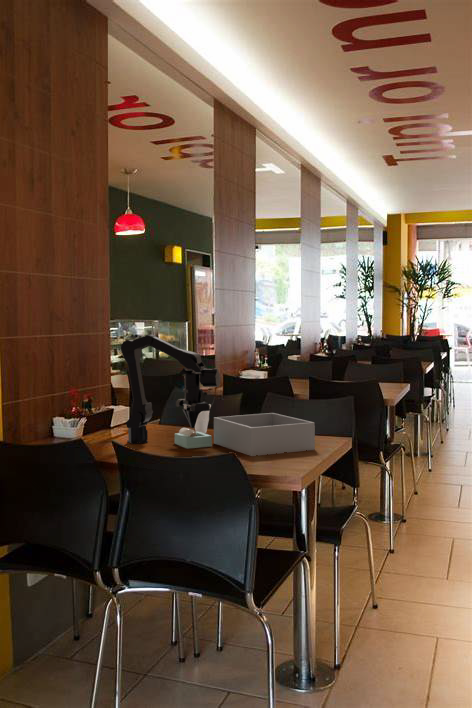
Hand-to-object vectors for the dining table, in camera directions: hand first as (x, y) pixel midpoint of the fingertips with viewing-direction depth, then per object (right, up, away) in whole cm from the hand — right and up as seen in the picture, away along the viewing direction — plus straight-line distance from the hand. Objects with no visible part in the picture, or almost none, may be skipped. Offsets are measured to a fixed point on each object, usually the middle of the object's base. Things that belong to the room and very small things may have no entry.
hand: (192, 427), depth 273 cm
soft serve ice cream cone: (+2, -5, +29) cm, 29 cm away
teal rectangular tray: (0, -7, 0) cm, 7 cm away
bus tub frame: (+26, -7, -4) cm, 27 cm away
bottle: (-4, -3, +7) cm, 9 cm away
